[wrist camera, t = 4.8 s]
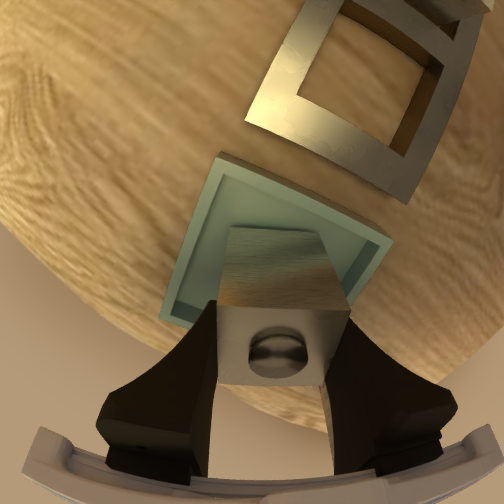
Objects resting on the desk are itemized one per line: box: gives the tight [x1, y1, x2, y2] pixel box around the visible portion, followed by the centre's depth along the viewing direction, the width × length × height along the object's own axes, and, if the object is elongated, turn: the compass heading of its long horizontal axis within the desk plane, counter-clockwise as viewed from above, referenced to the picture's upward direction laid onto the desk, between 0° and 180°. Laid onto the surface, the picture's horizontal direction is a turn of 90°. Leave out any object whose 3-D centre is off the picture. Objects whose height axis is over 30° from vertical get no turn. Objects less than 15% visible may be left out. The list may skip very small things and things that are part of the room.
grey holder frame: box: [245, 0, 483, 205], centre depth 9 cm, size 9×18×2 cm, turn 156°
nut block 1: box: [217, 227, 351, 386], centre depth 13 cm, size 4×4×6 cm
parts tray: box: [159, 152, 394, 330], centre depth 16 cm, size 10×10×2 cm
